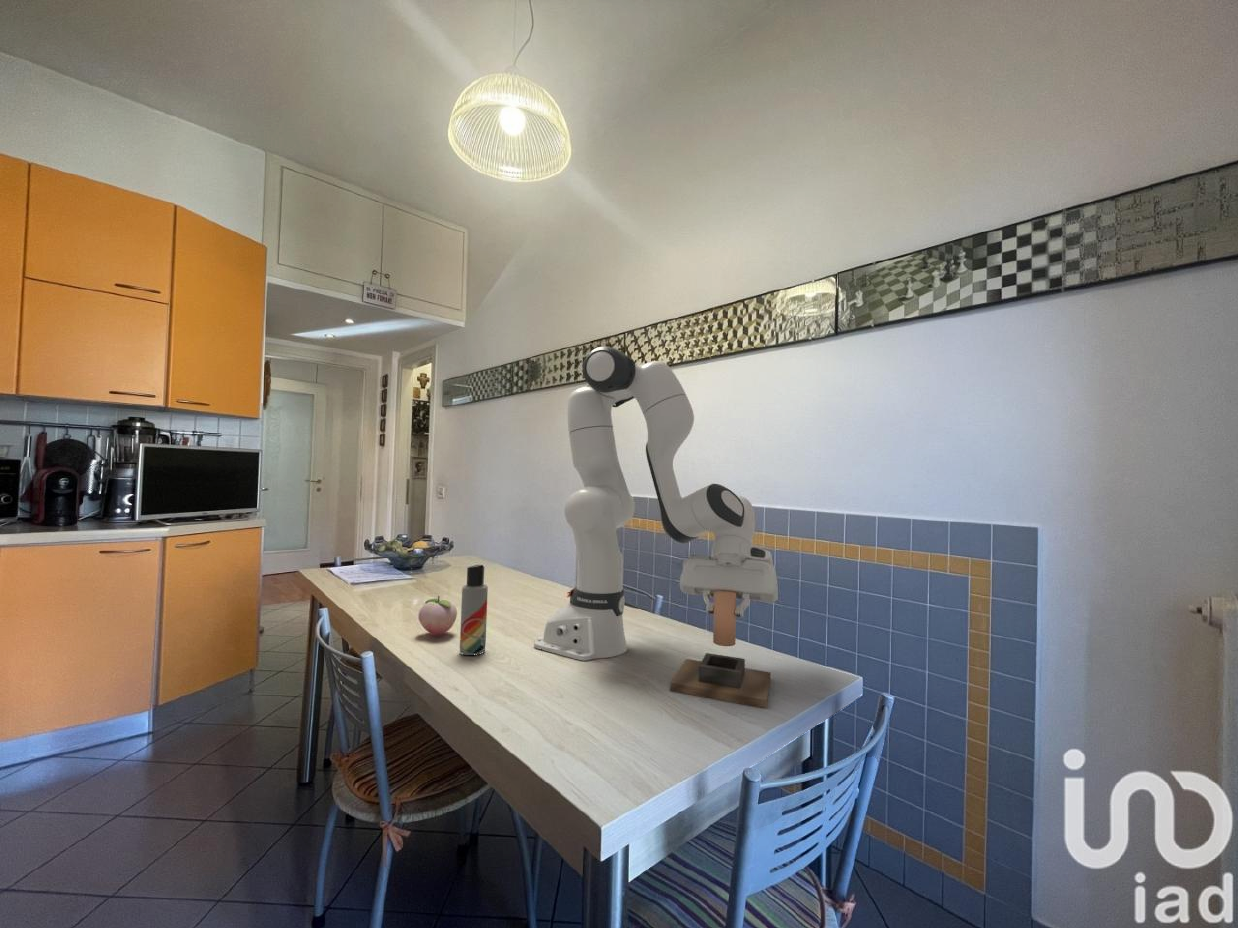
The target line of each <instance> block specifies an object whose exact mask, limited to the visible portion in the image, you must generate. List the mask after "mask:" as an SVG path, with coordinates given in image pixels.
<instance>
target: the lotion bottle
mask: <svg viewBox="0 0 1238 928" xmlns="http://www.w3.org/2000/svg"><path fill="white" fill-rule="evenodd" d="M466 569H467V571H466V584H465V585H463V586H462V588H461V607H460V608H461V610H460V629H459V631H460V632H459V653H460V652H461V653H463V654H466V655H474V654H475V655H476V654H480V653H482V652H484V651H486V646H487V645H486V644H487V643H486V640H487V621H488V620H487V619H488V616H487V615H488V614H487V613H488V596H489V595H488V589H489V587H488V585H487V584H484V582H485V566H484V565H483V564H475V565H471V566H468V567H467V568H466ZM484 653H485V652H484ZM482 654H483V653H482ZM480 655H481V654H480ZM476 656H477V655H476Z"/></svg>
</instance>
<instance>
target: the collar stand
mask: <svg viewBox="0 0 1238 928" xmlns="http://www.w3.org/2000/svg"><path fill="white" fill-rule="evenodd" d="M745 664H746V658H740V657H735V656H728V655H723V654H722V655H721V654H714V653H709V652H706V653H705V655H704V656H703V659H702V660H694V659H689V658H685V659H684V661H683V663H682V664H681V665H680V667H679V669H678V670H677V671H676V673H675V675H674V676H673V678H672V679H671V680H670V682H669V692H674V693H675V692H676V693H680V694H686V695H690V696H691V695H692V696H697V697H702V698H708V699H713V700H719V701H723V702H729V703H733V704H734V703H736V704H740V705H746V706H751V707H756V708H761V709H767V705H768V698H769V693H770V685H771V679H772V677H771V672H770V671H764V670H757V669H752V668H746V665H745Z"/></svg>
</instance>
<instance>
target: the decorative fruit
mask: <svg viewBox="0 0 1238 928" xmlns="http://www.w3.org/2000/svg"><path fill="white" fill-rule="evenodd" d="M424 603H425V604H423V606H422V607H421V608H420V609H419V611H418V616H417V617H418V621H419V624H420V625H421V626H422V628H424V631H427V632H428V633H429V634H431V635H433V634H435V635H434V636H436V635H439V636H441V635H442V634H445V633H447V632H448V631H449V630H450V629H451V628H452V627H453V625H454V624H455V622H456V619H457V617H458V609H457V608H456V606H455V604H454V603H453V602H451V601H449V600H446V599H440V595H438V596H437V598H430V599H427V600H426V601H425V602H424ZM440 634H441V635H440Z"/></svg>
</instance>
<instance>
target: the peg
mask: <svg viewBox="0 0 1238 928" xmlns="http://www.w3.org/2000/svg"><path fill="white" fill-rule="evenodd" d="M713 603H714V614H713V616H712V617H713V623H712V624H713V631H712V632H713V633H712V636H713V638H712V642H713V643H714V644H715V645H716V646H717V645H718V646H719V647H733V646H735V645H736V635H737V634H736V631H737V630H736V628H737V625H736V624H737V623H736V622H737V620H736V619H737V617H735V610H736V609H735V607H736V605H737V599H736V593H735V592H732V591H722V590H718V591H714V597H713Z"/></svg>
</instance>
